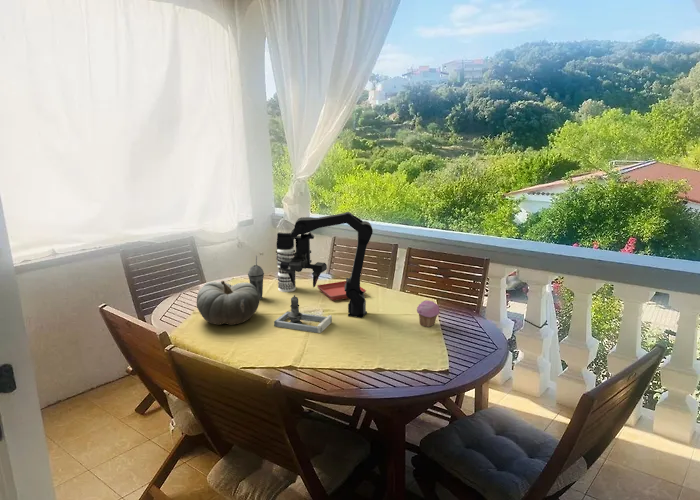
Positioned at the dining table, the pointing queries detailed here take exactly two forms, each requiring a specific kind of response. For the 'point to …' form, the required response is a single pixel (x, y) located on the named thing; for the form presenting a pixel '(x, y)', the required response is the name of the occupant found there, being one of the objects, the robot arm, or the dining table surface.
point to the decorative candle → (283, 276)
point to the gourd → (227, 302)
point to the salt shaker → (295, 311)
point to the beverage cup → (256, 278)
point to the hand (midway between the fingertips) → (303, 285)
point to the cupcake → (428, 313)
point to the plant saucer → (335, 290)
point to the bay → (318, 329)
